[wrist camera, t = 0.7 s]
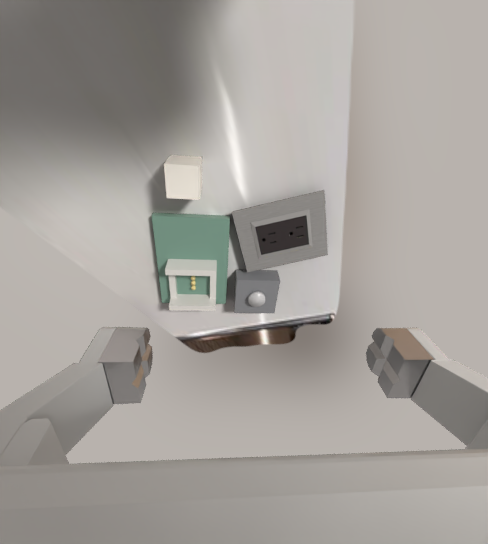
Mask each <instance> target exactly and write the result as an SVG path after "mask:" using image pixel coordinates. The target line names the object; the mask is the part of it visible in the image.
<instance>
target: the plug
mask: <svg viewBox="0 0 488 544" xmlns="http://www.w3.org/2000/svg"><path fill="white" fill-rule="evenodd" d="M164 172H165V184H166V196H167V198H173V199H194V200H200V196H201V191H202V157H196V156H181V155H170V156H169V158H168V159H167V160H166V162H165V163H164Z"/></svg>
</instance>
